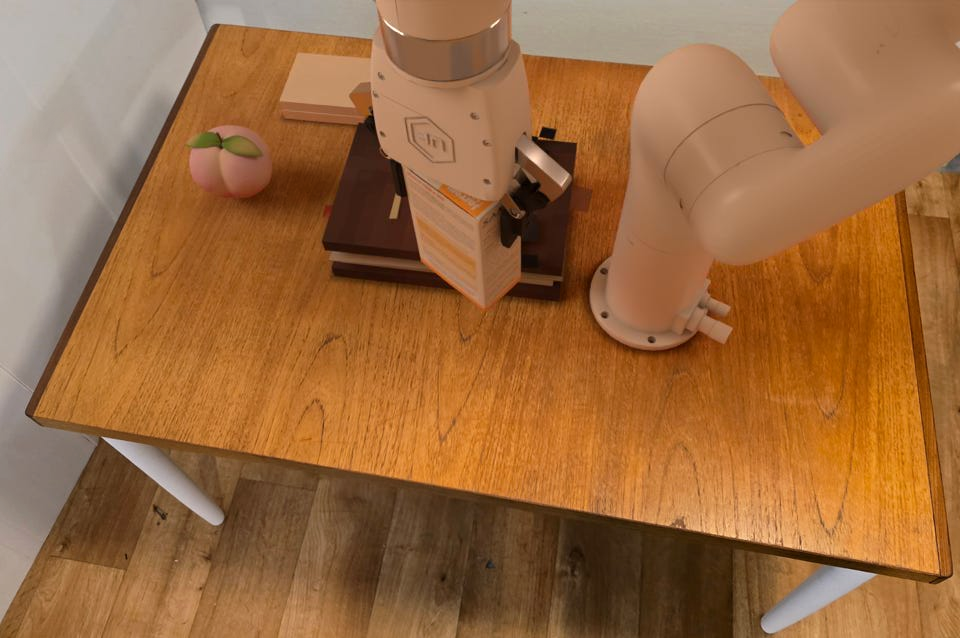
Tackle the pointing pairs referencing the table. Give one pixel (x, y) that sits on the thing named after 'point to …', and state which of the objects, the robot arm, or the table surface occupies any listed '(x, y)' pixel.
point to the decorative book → (391, 234)
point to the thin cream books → (324, 88)
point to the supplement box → (463, 239)
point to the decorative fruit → (230, 161)
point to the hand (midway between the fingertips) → (462, 208)
